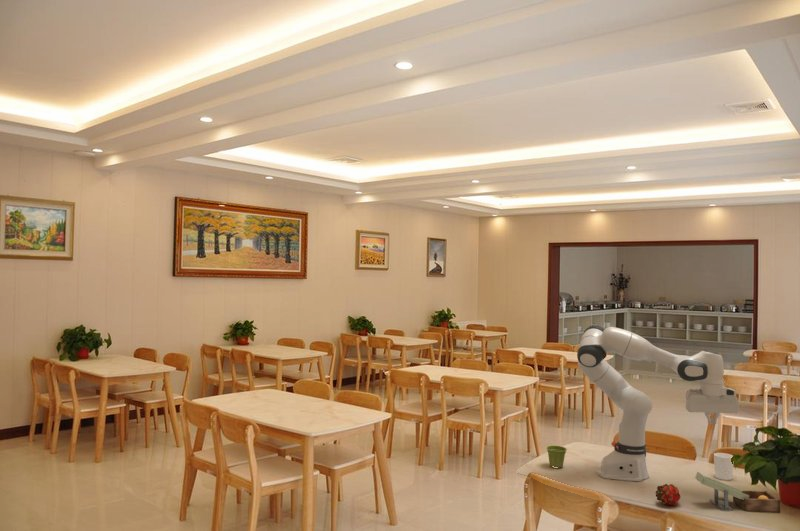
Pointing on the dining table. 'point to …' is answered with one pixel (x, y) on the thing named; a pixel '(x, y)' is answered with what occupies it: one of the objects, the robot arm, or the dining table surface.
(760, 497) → the ball
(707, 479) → the lever
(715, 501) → the fulcrum
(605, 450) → the dining table surface
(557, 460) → the plant pot
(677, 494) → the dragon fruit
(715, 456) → the white cup
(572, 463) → the dining table surface
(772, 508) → the tray
